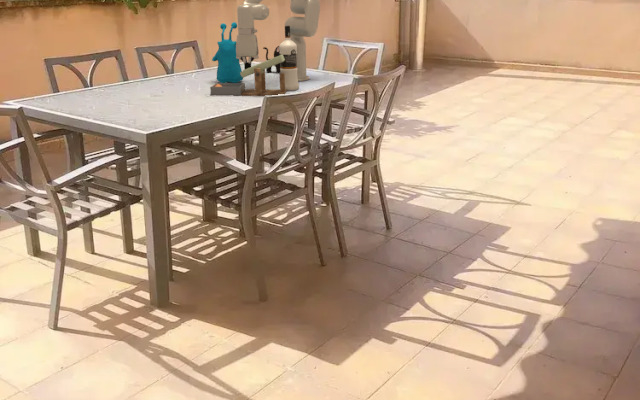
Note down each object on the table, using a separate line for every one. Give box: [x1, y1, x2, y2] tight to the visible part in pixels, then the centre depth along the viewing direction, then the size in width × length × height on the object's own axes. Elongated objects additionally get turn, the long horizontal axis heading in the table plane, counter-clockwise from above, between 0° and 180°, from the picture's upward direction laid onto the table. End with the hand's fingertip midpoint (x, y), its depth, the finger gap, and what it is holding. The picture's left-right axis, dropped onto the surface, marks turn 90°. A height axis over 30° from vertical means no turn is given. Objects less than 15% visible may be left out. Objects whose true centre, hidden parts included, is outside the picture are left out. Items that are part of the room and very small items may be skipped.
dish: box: [210, 82, 246, 97], centre depth 324 cm, size 10×14×4 cm
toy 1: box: [211, 21, 244, 83], centre depth 351 cm, size 17×18×30 cm
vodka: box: [278, 25, 300, 92], centre depth 327 cm, size 9×9×30 cm
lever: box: [240, 54, 285, 79], centre depth 324 cm, size 22×16×4 cm
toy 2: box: [262, 45, 281, 74], centre depth 378 cm, size 8×14×15 cm, turn 69°
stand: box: [241, 68, 288, 97], centre depth 321 cm, size 20×11×12 cm, turn 84°
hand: (248, 71), depth 330 cm, fingers closed
